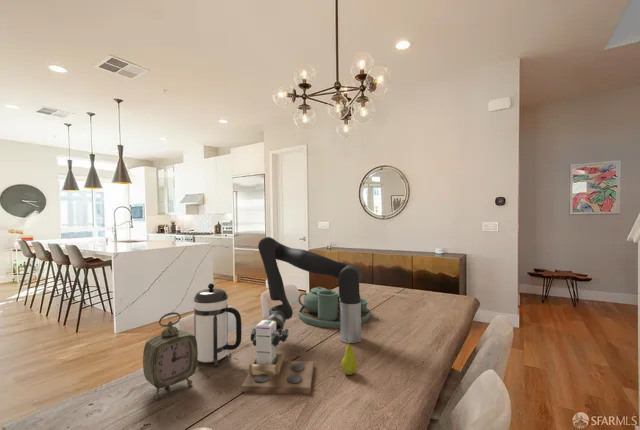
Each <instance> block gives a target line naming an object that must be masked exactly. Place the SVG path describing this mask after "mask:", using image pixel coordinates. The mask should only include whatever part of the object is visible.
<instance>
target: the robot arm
mask: <svg viewBox="0 0 640 430" xmlns="http://www.w3.org/2000/svg"><path fill="white" fill-rule="evenodd" d="M257 246H258V247H257V249H258V251H259V254H260V258H261V261H262V262H263V266H264V271H265V275H266V280H267V285H268V286H267V287H268V291H269V297H270V300H271V301H277V302H279V301H280V302H281V304H278V305H274V306H272V307H270V308H269V311H268V315H269V316H268V317H267V319H266V320H273V321H276V337H275V339H274V346H276V345H279V343H280V342H283V343H285V342H286V341H287V339H288V337H289V329H287V328H285V325H286V320H290V319H291V318H292V317H293V315H294V314H293V313H294V312H293V308H292V306H291V304H290V302H289V300H288V297H287V294H286V290H285V285H284V281H283V277H282V274H281V272H280V269H279V267H278V263H277V261H281V262H284V263H285V262H286V263H288V264H289V265H291V266H293V267H295V268H297V269H301V270H303V271H305V272H308V273H312V274H316V275H324V276H331V277H333V278H336V279H338V292H339V296H340V299H339V300H340V328H339V333H340V334H339V335H340V337H339V338H340V341H341V342H343V343H346V344H348V343H349V344H357V343H361V342H362V324H361V299H362V298H361V295H360V294H361V293H360V282H361V280H362V277H363V273H362V271H361V269H360V268H359V267H358V266H357V265H354V264H349V263H344V262H340V261H337V260H334V259H331V258H329V257H327V256H323V255H321V254H318V253H316V252H312V251H310V250H306V249H301V248H293V247H289V246H286V245H285V244H282V243H281V242H278V241H277V240H276V239H274V238H273V237H270V236H264V237H263V238H261V239H260V240H259V242H258V245H257ZM284 328H285V329H284ZM346 338H347V340H348V342H347V340H346ZM250 341H251V342H252V345H254V346H255V347H256V328H252V331H251V332H250Z"/></svg>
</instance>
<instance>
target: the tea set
mask: <svg viewBox="0 0 640 430" xmlns="http://www.w3.org/2000/svg"><path fill="white" fill-rule="evenodd" d="M302 296H304V297H303V302H302V301H301V297H302ZM297 299H298V300H297V301H298V303H299V304H300V308H299V310H298V312H297V316H298V317H299V319H300V320H301V321H302V322H303V323H305V324H307V325H311V326H315V327H318V328H331V329H332V328H333V329H340V296H339V290H334V289H327V288H325V287H321V286H317V287H312V288H311V289H310V291H309V292H308V293H307V292H301V293H300V294H299V296H298V298H297ZM368 303H369V300H367V299H364V298H361V325H362V324H365V323H366V322H368V320H369V318H370V316H371V315H372V314H371V310H370V309H369V307H368Z"/></svg>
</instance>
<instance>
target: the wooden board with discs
mask: <svg viewBox="0 0 640 430" xmlns="http://www.w3.org/2000/svg"><path fill="white" fill-rule="evenodd" d="M314 362H315V361H313V360H309V361H308V360H284V353H280V352H277V360H276V361H275V362H274V364H273V365H265V364H256V353H255V354H254V356H253V357H252V359H251V360H250V363H249V365H248V372H247V373H248V374H247V375H246V377H245V379H244V381H243V383H242V385H241V393H251V394H252V393H254V394H255V393H256V394H257V393H258V394H262V393H263V394H296V395H297V394H302V395H303V394H305V395H306V394H307V395H310V394H311V390H312V384H313V383H312V382H313V377H314V375H313V374H314V369H315V367H314V365H315V363H314Z"/></svg>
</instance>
